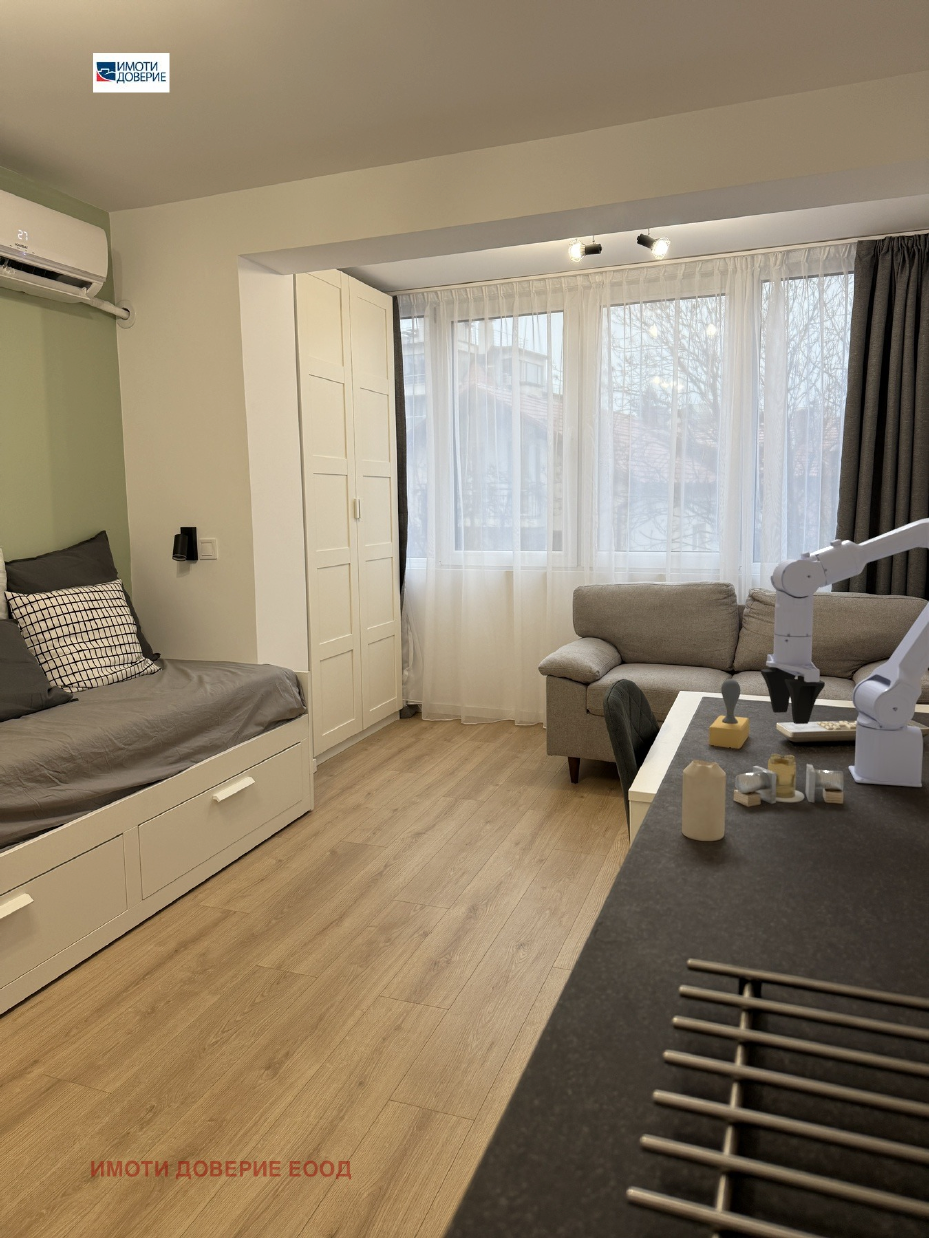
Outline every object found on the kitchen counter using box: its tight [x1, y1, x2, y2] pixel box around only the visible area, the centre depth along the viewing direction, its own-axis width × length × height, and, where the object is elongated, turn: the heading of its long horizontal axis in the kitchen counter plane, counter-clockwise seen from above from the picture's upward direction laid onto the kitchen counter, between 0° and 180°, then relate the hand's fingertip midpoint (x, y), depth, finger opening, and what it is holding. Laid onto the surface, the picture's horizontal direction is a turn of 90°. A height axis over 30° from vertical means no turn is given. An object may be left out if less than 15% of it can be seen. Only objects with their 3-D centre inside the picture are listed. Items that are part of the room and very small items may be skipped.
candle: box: [681, 759, 727, 842], centre depth 111 cm, size 6×6×10 cm
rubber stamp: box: [708, 678, 750, 749], centre depth 157 cm, size 10×6×12 cm, turn 153°
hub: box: [767, 753, 797, 798], centre depth 126 cm, size 4×4×6 cm
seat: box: [775, 789, 805, 803], centre depth 126 cm, size 6×6×1 cm
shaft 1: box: [733, 765, 777, 808], centre depth 124 cm, size 5×4×5 cm
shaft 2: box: [805, 763, 845, 804], centre depth 124 cm, size 5×4×5 cm
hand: (790, 717), depth 134 cm, fingers open, 7 cm apart
